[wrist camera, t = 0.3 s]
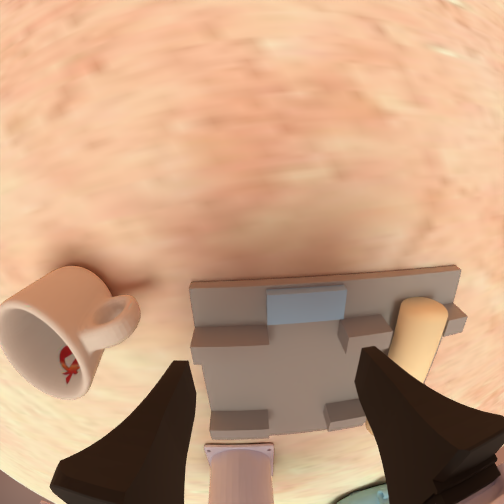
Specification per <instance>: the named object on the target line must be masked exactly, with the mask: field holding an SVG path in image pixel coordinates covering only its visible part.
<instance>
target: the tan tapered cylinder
mask: <svg viewBox="0 0 504 504" xmlns="http://www.w3.org/2000/svg"><path fill="white" fill-rule="evenodd" d="M447 318H448V311H447V309H446V308H445V307H444V306H443V305H442V304H441V303H439V302H437V301H435V300H433V299H430V298H425V297H411V298H407V299H405V300H404V301H403V302H402V303H401V306H400V310H399V315H398V319H397V323H396V327H395V331H394V335H393V339H392V343H391V346H390V350H389V353H388V357H389V358H390V359H391V360H393V361H394V362H395V363H396V364H398V365H399V366H400V367H401V368H403V369H404V370H405V371H406V372H408V373H409V374H410V375H412V376H413V377H414V378H416V379H417V380H419V381H420V382H422V383H423V382H424V380H425V378H426V375H427V373H428V371H429V368H430V366H431V363H432V361H433V358H434V356H435V353H436V350H437V348H438V345H439V342H440V339H441V336H442V333H443V330H444V327H445V324H446V321H447ZM366 428H367V430H368V431H369V432H370V433H371V434H372V435H374V434H373V432H372V430H371V427H370V425H369V422H368V420H367V418H366Z"/></svg>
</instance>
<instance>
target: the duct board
mask: <svg viewBox="0 0 504 504" xmlns="http://www.w3.org/2000/svg"><path fill="white" fill-rule="evenodd" d="M460 274H461V269H460V268H458V267H457V266H456V265H452V266H442V267H431V268H420V269H409V270H397V271H385V272H372V273H358V274H344V275H329V276H313V277H295V278H277V279H257V280H234V281H209V282H191V284H190V287H189V292H190V299H191V306H192V312H193V318H194V324H195V329H194V333H193V337H192V342H191V346H190V348H191V353H192V358H193V363H194V364H198V365H202V369H203V374H204V379H205V384H206V389H207V394H208V398H209V403H210V407H211V419H210V434H211V438H212V439H217V440H234V439H263V438H269V436H270V435H283V434H294V433H303V432H311V431H319V430H325V429H327V430H328V432H329V431H335V430H341V429H347V428H352V427H357V426H362V425H363V423H364V422H366V415H365V413H364V411H363V408H362V406H361V403H360V401H359V397H358V394H357V390H356V386H355V382H354V380H355V376H356V372H357V368H358V363H359V359H360V354H361V349H362V348H364V347H370V346H376V347H377V348H378V349H379V350H381V351H382V352H383V353H384V354H385V355H387V356H388V353H389V350H390V346H391V343H392V339H393V335H394V331H395V327H396V323H397V319H398V315H399V310H400V306H401V303H402V302H403V301H404V300H405V299H407V298H411V297H425V298H430V299H433V300H435V301H437V302H439V303H441V304H442V305H443V306H444V307H445V308H446V309H447V311H448V318H447V321H446V324H445V327H444V330H443V333H442V336H443V337H445V336H449V335H453V334H457V333H461V332H462V331H463V328H464V325H465V322H466V320H467V317H468V316H467V315H466V314H465V313H463V312H462V311H461V310H460V309H459V308H458V307H457V306H456V305H455V304H454V303H453V301H454V298H455V294H456V290H457V286H458V282H459V278H460ZM442 336H441V339H442ZM441 339H440V342H441ZM440 342H439V345H440ZM439 345H438V347H439ZM437 350H438V348H437ZM437 350H436V353H437ZM436 353H435V355H436ZM434 358H435V356H434ZM434 358H433V361H434ZM433 361H432V363H433ZM432 363H431V366H432ZM431 366H430V368H431ZM430 368H429V370H430ZM428 373H429V371H428ZM428 373H427V375H428ZM427 375H426V377H427ZM425 380H426V378H425ZM425 380H424V382H425ZM424 382H423V384H424ZM424 385H425V384H424Z"/></svg>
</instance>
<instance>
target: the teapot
mask: <svg viewBox="0 0 504 504" xmlns="http://www.w3.org/2000/svg"><path fill="white" fill-rule="evenodd" d="M349 495H350V496H348V497H346V498H344V499H342V500H340V501H339V502H338V503H337V504H389V496H388V490H387V483H386V484H383V485H379V486H375V487H372V488H369V489H365V490H362V491H355V492H353V493H351V494H349Z"/></svg>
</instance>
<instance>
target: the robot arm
mask: <svg viewBox="0 0 504 504" xmlns="http://www.w3.org/2000/svg"><path fill="white" fill-rule="evenodd" d="M354 382H355V386H356V390H357V394H358V397H359V401H360V403H361V406H362V408H363V411H364V413H365V415H366V418H367V420H368V422H369V425H370V427H371V430H372V432H373V434H374V437H375V439H376V442H377V445H378V448H379V452H380V456H381V460H382V464H383V468H384V473H385V478H386V483H387V490H388V496H389V504H504V462H502V463H501V464H500V465H499V466H498V467H497V466H496V464H495V462H496V461H497V457H496V455H495V453H496V452H497V451H498V450H499V449H500V448H501V447H502V445H503V444H504V417H503V416H502V415H497V414H492V413H488V412H483V411H480V410H477V409H474V408H470V407H468V406H465V405H462V404H460V403H458V402H456V401H453V400H451V399H449V398H447V397H445V396H443V395H441V394H439V393H438V392H436V391H434V390H432V389H431V388H429V387H427V386H426V385H424V384H423V383H422V382H420V381H419V380H417V379H416V378H414V377H413V376H412V375H410V374H409V373H408V372H406V371H405V370H404V369H403V368H401V367H400V366H399V365H398V364H396V363H395V362H394V361H393V360H391V359H390V358H389V357H388V356H387V355H385V354H384V353H383V352H382V351H381V350H379V349H378V348H377V347H376V346H370V347H364V348H362V349H361V354H360V359H359V363H358V368H357V372H356V376H355V380H354ZM195 408H196V390H195V386H194V382H193V378H192V374H191V370H190V366H189V362H188V361H173V362H172V363H171V365H170V366H169V368H168V369H167V370H166V372H165V373H164V375H163V376H162V377H161V379H160V380H159V381H158V383H157V384H156V385H155V387H154V388H153V389H152V390H151V392H150V393H149V394H148V395H147V397H146V398H145V399H144V400H143V401H142V402H141V403H140V405H139V406H138V407H137V408H136V409H135V410H134V411H133V412H132V413H131V414H130V415H129V416H128V417H127V418H126V419H125V420H124V421H123V422H122V423H121V424H119V425H118V426H117V427H116V428H115V429H113V430H112V431H111V432H110V433H108V434H107V435H106V436H104V437H103V438H102V439H100V440H99V441H97V442H95V443H94V444H92V445H91V446H89V447H87V448H86V449H84V450H82V451H80V452H78V453H76V454H74V455H72V456H70V457H68V458H66V459H63V460H61V461H60V462H59V464H58V466H57V468H56V471H55V473H54V476H53V478H52V481H51V484H50V489H51V490H52V492H53V493H54V494H56V495H57V496H58V497H59V498H61V499H62V500H63V501H64V502H66V503H67V504H184V482H185V466H186V458H187V452H188V447H189V442H190V437H191V432H192V427H193V422H194V417H195ZM204 450H205V453H206V456H207V459H208V462H209V465H210V468H211V472H210V487H209V504H274V500H273V488H272V476H273V459H274V445H273V444H270V443H269V444H249V445H205V446H204ZM40 504H50V503H48V502H46V501H44V500H41V501H40Z"/></svg>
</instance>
